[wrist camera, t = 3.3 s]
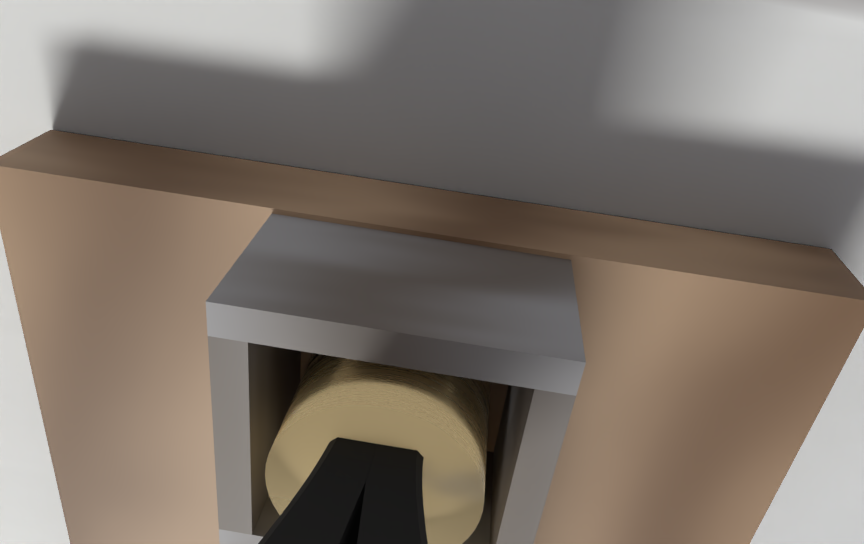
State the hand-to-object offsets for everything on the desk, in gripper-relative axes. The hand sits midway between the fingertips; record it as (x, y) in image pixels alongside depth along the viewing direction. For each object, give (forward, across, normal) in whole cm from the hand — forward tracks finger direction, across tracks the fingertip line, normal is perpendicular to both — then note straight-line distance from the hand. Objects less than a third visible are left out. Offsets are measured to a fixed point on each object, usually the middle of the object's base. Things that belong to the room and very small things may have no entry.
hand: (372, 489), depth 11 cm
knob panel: (+5, 0, +6) cm, 8 cm away
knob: (+3, 0, 0) cm, 3 cm away
